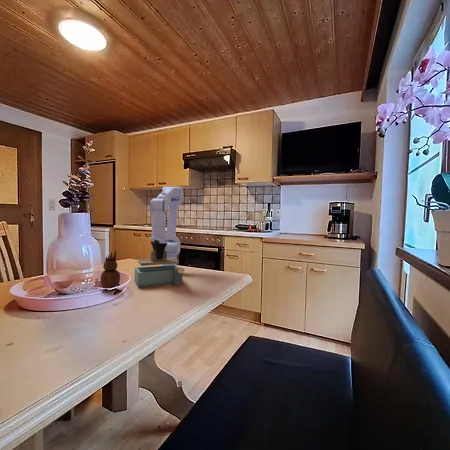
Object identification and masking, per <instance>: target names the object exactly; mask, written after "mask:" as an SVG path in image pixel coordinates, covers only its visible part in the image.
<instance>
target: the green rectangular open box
mask: <svg viewBox="0 0 450 450" xmlns="http://www.w3.org/2000/svg"><path fill="white" fill-rule="evenodd" d="M176 266H178V264H177V265H164V266H161V265H149V266H140V267H134V282H135V283H134V284H135V285H136V287H137V288H138V289H141V288H152V287H160V286H161V287H163V286H168V285H169V286H171V285H173V287H181V286H183V273H178V272H177V271H176V270H175V267H176Z"/></svg>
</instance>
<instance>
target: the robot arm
mask: <svg viewBox="0 0 450 450" xmlns="http://www.w3.org/2000/svg"><path fill="white" fill-rule="evenodd" d="M183 201H184V188H183V187H182V186H165V185H164V186H163V187H162V191H161V192H160V193H159V194H158V196H156V197H155V198H152V199H150V202H149V210H150V216H151V236H149V237H148V239H149V240H152V241H150V245H151V247H152V249H153V250H152V251H156V257H157V259H162V258H163V254H164V250H165V251H167V258H175V259H176V260H178V255H179V254H180V252H181V240H180V238H179V237H178V236H176V232H177V224H178V214H179V207H180V206H181V205H183ZM168 207H169V208H168ZM166 213H168V215H167V214H166ZM166 222H167V223H166ZM166 224H167V225H166ZM164 265H177V266H178V263H177V264H162V265H160V266H164Z"/></svg>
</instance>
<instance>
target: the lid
mask: <svg viewBox="0 0 450 450" xmlns="http://www.w3.org/2000/svg"><path fill="white" fill-rule="evenodd" d="M179 262H180V261H179V260H178V259H177V260H176V259H175V258H167V251H165V250H164V254H163V258H162V259H157V257H156V251H153V250H150V258H148V259H138V263H139V265H140V267H148V266H161V265H162V264H177V265H178V264H179Z"/></svg>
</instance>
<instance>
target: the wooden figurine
mask: <svg viewBox="0 0 450 450" xmlns="http://www.w3.org/2000/svg"><path fill="white" fill-rule="evenodd" d="M117 268H118V263H117V251H116V250H115V251H114V254H113V253H112V251H111V252H110V255H109V254H108V255H107V256H106V257H105V259H104V263H103V271H102V272H101V274H100V279H99V280H100V285H101V287H102V289H103V288H112V287H115V286H118V287H119V284H120V280H121V273H120V272H119V270H117Z"/></svg>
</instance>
